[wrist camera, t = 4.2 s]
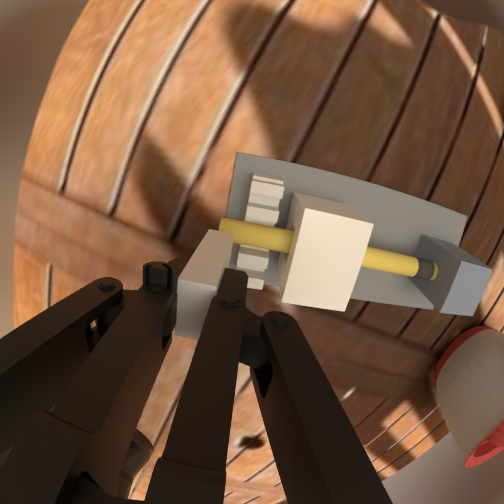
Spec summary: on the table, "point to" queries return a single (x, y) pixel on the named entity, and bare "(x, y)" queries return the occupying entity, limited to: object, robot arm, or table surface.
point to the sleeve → (322, 253)
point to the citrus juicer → (473, 392)
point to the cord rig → (380, 243)
